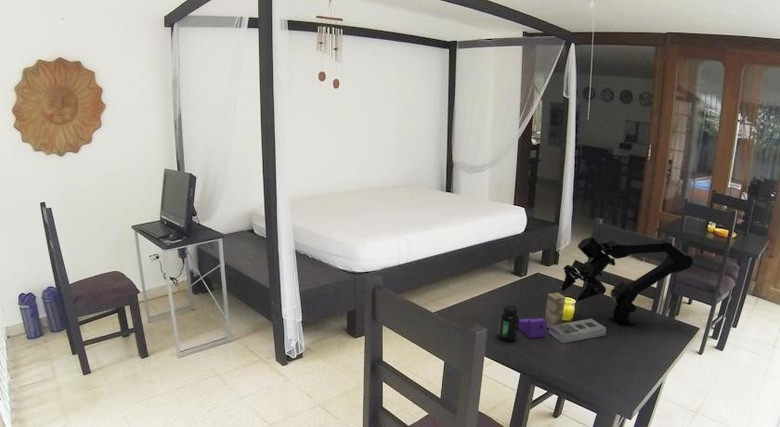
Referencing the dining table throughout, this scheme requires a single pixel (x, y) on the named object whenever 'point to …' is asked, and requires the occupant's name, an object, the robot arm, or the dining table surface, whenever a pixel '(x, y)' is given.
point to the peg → (554, 309)
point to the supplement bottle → (508, 324)
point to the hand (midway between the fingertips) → (569, 295)
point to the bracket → (533, 327)
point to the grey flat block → (577, 330)
